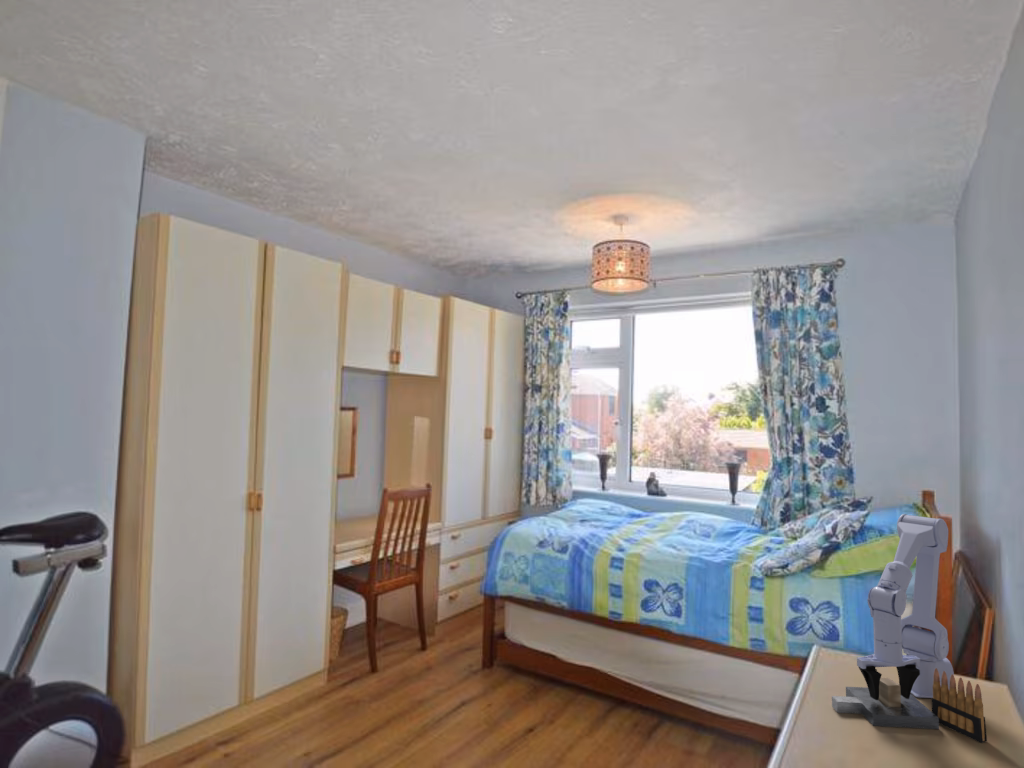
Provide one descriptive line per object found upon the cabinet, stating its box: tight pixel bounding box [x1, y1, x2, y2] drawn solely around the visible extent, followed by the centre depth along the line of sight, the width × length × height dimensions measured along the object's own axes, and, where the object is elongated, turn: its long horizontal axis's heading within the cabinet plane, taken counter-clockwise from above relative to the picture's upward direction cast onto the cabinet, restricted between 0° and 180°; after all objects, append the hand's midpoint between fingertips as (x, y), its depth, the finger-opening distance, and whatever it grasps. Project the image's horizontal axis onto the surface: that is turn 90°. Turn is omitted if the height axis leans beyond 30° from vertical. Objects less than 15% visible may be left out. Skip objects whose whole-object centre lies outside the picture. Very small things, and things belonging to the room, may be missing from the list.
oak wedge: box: [879, 677, 901, 707], centre depth 143 cm, size 3×4×7 cm
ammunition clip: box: [931, 668, 988, 744], centre depth 135 cm, size 11×2×12 cm, turn 22°
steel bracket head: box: [831, 686, 940, 730], centre depth 143 cm, size 20×14×2 cm
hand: (889, 697), depth 143 cm, fingers open, 7 cm apart
